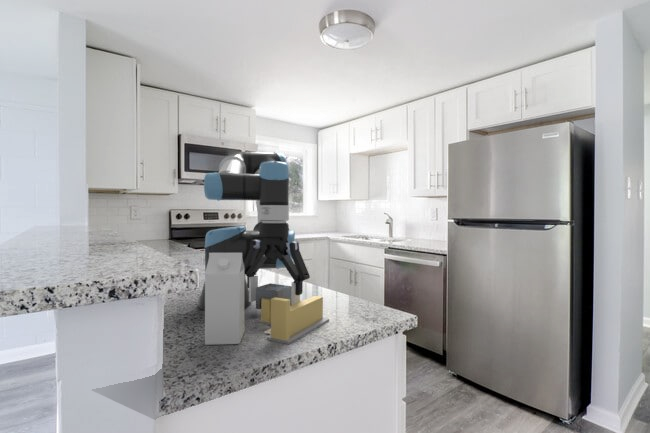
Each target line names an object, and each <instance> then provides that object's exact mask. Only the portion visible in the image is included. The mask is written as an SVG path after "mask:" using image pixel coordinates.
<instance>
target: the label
mask: <svg viewBox="0 0 650 433" xmlns="http://www.w3.org/2000/svg"><path fill="white" fill-rule="evenodd" d="M263 334H268V335H271V328H269V329H267V330H265V331H264V332H263Z"/></svg>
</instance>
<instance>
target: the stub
mask: <svg viewBox="0 0 650 433" xmlns="http://www.w3.org/2000/svg"><path fill="white" fill-rule="evenodd" d="M260 314H261V315H260V317H258V318H255V319H253V321H252V323H253V324H254V323H255V324H259V325H264V326H269V327H271V300H269V299H263V298H262V299H261V310H260Z"/></svg>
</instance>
